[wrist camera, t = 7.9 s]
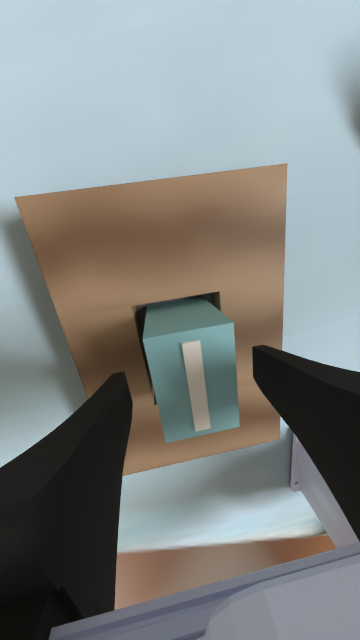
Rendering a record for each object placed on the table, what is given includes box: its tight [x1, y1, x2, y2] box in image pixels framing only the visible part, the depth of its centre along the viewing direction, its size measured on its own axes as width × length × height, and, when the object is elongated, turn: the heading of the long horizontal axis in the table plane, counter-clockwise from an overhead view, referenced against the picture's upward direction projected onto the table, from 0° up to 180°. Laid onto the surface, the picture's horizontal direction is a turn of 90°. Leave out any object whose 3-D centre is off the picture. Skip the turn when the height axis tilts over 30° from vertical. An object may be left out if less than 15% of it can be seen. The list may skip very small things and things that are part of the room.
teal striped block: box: [143, 296, 240, 443], centre depth 12 cm, size 6×4×6 cm, turn 8°
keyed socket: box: [15, 164, 287, 476], centre depth 14 cm, size 20×14×2 cm
